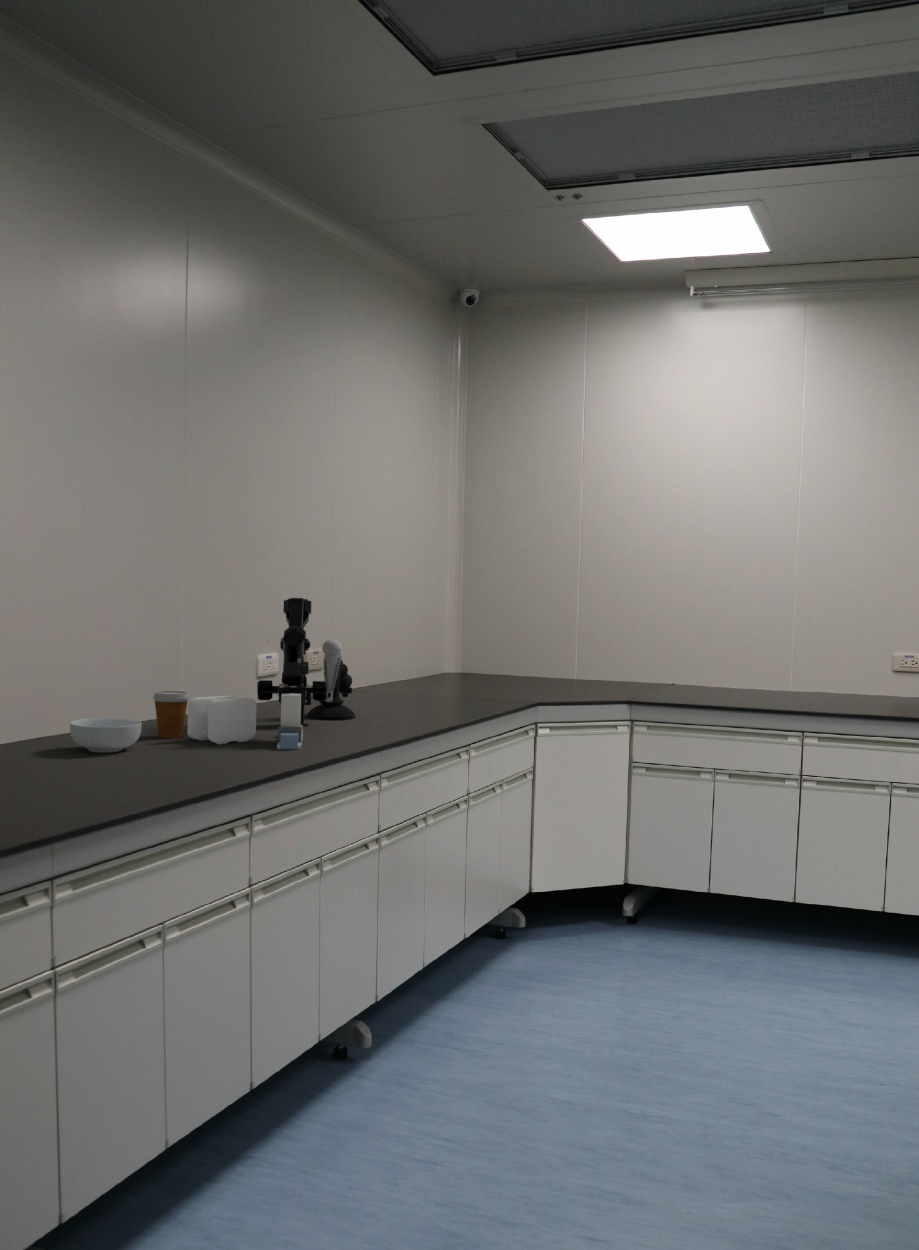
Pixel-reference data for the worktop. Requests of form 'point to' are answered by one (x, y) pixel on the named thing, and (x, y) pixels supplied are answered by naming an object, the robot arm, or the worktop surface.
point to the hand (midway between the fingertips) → (291, 714)
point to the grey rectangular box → (290, 709)
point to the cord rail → (290, 737)
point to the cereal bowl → (105, 733)
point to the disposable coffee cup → (170, 712)
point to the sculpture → (334, 685)
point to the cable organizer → (222, 719)
